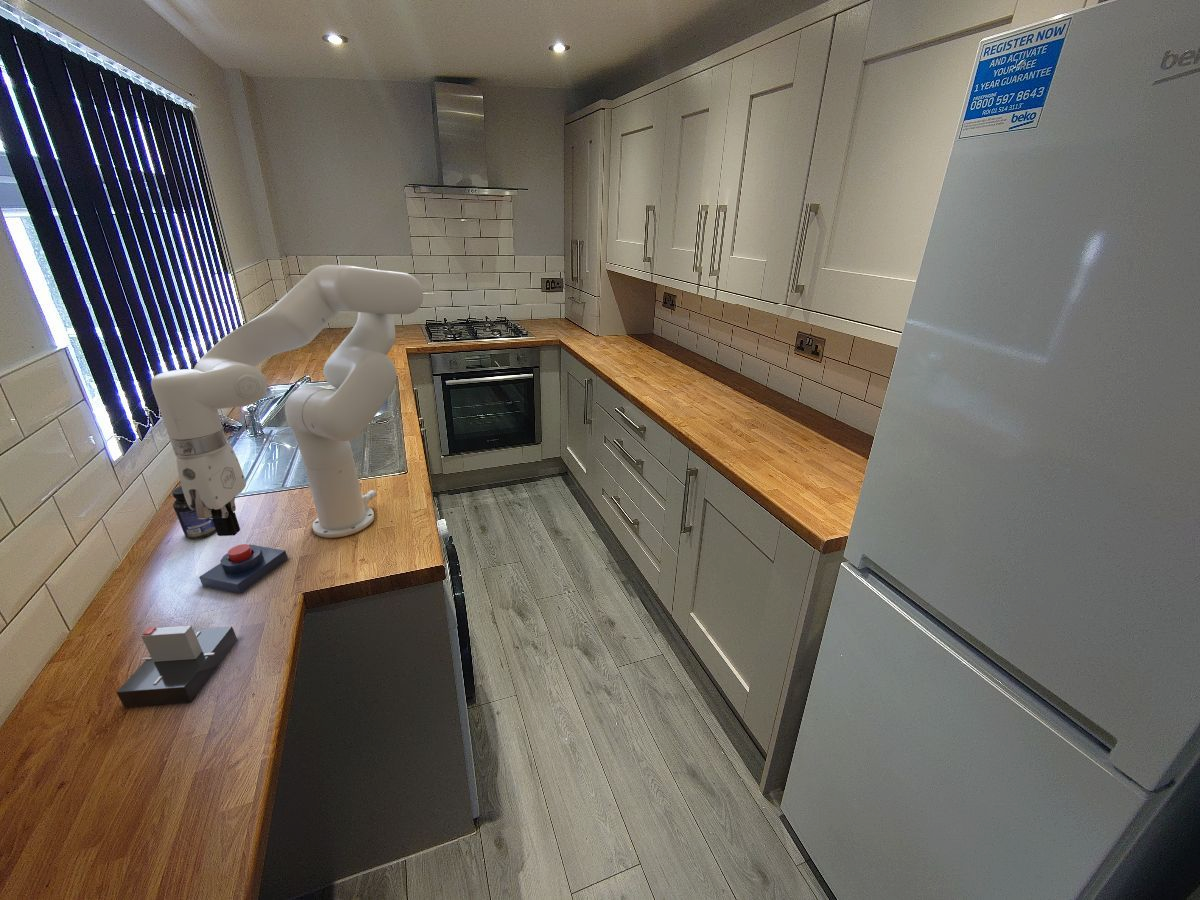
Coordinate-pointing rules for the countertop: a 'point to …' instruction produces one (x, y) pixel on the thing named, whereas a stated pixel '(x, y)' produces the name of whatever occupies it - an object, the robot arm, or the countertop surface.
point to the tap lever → (171, 643)
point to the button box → (243, 570)
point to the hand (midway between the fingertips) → (229, 533)
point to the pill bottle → (191, 518)
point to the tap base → (178, 672)
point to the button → (240, 553)
